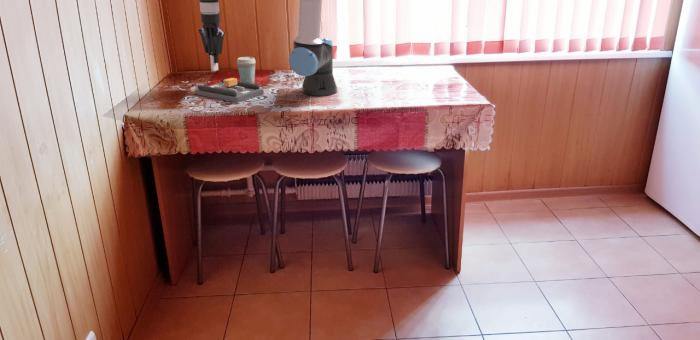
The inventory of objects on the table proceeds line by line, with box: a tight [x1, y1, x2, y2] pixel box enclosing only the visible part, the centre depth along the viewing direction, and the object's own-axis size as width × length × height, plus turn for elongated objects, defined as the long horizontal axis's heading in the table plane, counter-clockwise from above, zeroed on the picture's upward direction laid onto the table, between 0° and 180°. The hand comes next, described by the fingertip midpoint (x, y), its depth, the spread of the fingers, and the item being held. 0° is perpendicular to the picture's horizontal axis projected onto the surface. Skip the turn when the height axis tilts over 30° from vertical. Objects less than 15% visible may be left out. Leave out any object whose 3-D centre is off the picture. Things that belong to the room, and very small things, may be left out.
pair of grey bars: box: [197, 78, 261, 96], centre depth 218 cm, size 21×16×2 cm
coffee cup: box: [236, 56, 257, 84], centre depth 233 cm, size 8×9×12 cm
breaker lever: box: [223, 77, 238, 89], centre depth 217 cm, size 3×5×4 cm, turn 148°
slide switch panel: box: [195, 81, 264, 103], centre depth 219 cm, size 24×16×3 cm, turn 59°
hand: (214, 70), depth 219 cm, fingers closed
